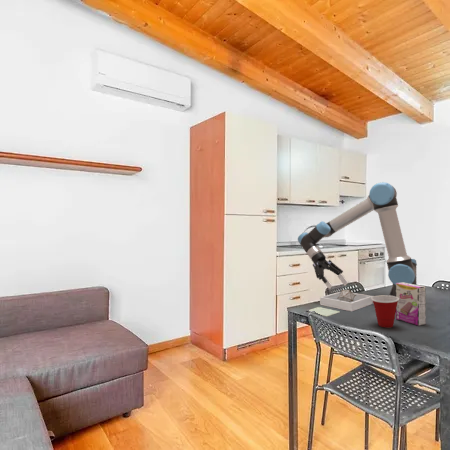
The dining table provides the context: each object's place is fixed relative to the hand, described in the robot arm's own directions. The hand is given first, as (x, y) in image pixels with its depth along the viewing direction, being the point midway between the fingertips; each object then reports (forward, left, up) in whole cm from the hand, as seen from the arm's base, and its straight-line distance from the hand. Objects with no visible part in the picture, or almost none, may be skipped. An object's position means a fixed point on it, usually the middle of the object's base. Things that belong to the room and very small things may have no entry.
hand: (338, 285), depth 186 cm
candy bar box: (-40, +8, -9) cm, 41 cm away
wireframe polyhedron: (-5, 0, -9) cm, 10 cm away
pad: (-5, +22, -9) cm, 24 cm away
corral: (-5, 0, -9) cm, 10 cm away
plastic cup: (-35, +21, -9) cm, 41 cm away
